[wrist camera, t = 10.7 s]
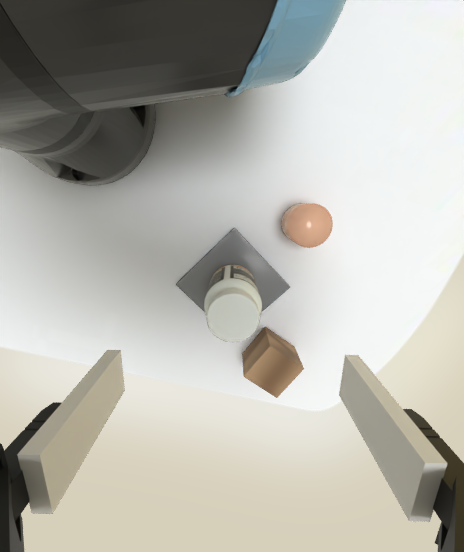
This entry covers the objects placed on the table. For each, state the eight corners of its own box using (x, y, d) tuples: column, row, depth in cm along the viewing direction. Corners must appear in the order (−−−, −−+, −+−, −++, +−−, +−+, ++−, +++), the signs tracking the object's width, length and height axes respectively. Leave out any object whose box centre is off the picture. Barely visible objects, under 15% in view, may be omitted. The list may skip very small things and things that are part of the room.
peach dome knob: (273, 223, 31) (280, 226, 27) (301, 195, 30) (312, 194, 26) (298, 248, 32) (309, 256, 28) (326, 222, 31) (341, 225, 27)
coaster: (176, 283, 33) (175, 284, 33) (234, 227, 31) (234, 228, 31) (232, 335, 35) (231, 337, 34) (289, 285, 33) (290, 287, 33)
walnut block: (242, 353, 36) (243, 376, 31) (265, 326, 35) (270, 345, 30) (271, 372, 37) (276, 397, 32) (294, 346, 35) (303, 368, 31)
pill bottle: (220, 313, 33) (214, 356, 24) (202, 272, 32) (189, 301, 23) (262, 298, 33) (274, 336, 23) (246, 256, 32) (252, 278, 22)
